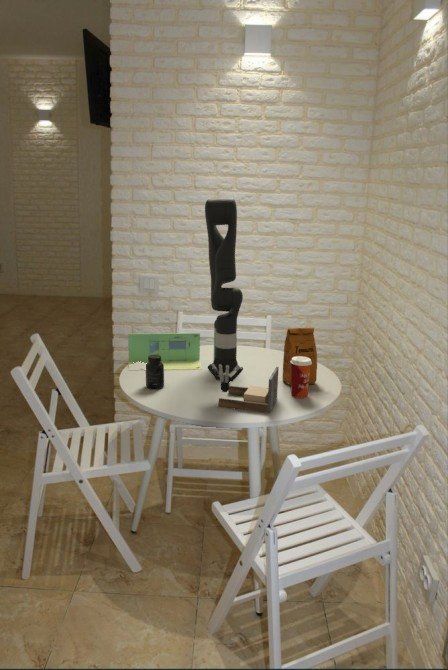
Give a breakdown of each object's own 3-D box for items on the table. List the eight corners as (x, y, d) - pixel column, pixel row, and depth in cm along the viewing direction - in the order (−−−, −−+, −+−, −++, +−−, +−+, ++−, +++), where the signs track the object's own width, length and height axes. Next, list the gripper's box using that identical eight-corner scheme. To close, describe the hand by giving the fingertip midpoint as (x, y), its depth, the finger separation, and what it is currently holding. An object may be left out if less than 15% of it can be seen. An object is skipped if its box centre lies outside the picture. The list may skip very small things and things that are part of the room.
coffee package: (318, 386, 227) (322, 330, 222) (287, 387, 225) (290, 331, 219) (310, 377, 237) (313, 324, 231) (280, 379, 234) (282, 324, 229)
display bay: (228, 393, 218) (229, 361, 215) (276, 398, 214) (278, 366, 210) (218, 407, 205) (219, 374, 201) (269, 413, 200) (271, 379, 197)
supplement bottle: (146, 383, 226) (145, 353, 222) (164, 383, 226) (164, 353, 223) (145, 390, 219) (145, 358, 216) (164, 390, 220) (163, 358, 216)
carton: (250, 398, 214) (250, 385, 212) (270, 401, 212) (271, 388, 210) (243, 407, 205) (243, 393, 204) (264, 410, 203) (265, 396, 202)
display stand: (199, 360, 256) (199, 333, 253) (202, 370, 244) (202, 340, 241) (128, 362, 252) (128, 333, 249) (128, 371, 240) (127, 341, 237)
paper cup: (304, 400, 212) (306, 363, 209) (284, 396, 216) (286, 359, 212) (313, 394, 219) (315, 358, 215) (294, 390, 222) (296, 354, 219)
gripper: (246, 343, 208) (245, 389, 213) (210, 339, 211) (209, 385, 216) (242, 349, 201) (240, 397, 206) (204, 345, 204) (203, 393, 209)
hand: (224, 391), depth 211 cm, fingers closed
